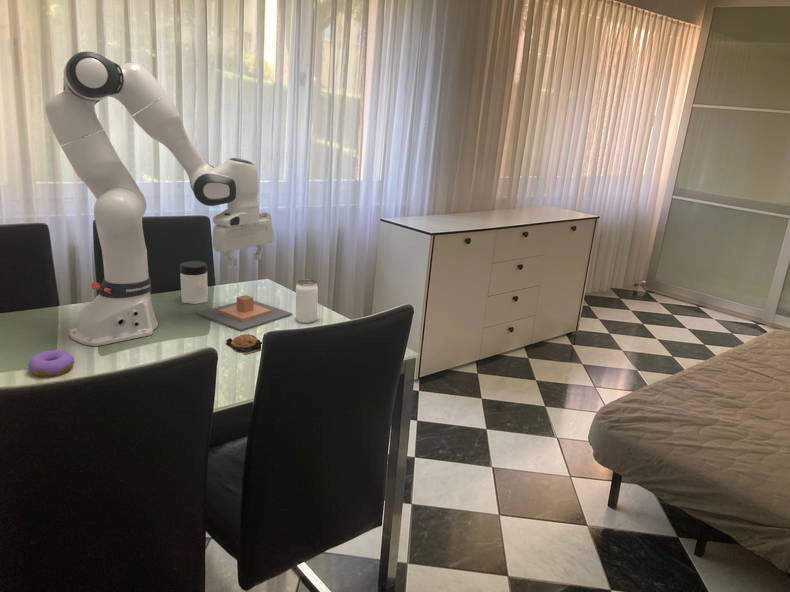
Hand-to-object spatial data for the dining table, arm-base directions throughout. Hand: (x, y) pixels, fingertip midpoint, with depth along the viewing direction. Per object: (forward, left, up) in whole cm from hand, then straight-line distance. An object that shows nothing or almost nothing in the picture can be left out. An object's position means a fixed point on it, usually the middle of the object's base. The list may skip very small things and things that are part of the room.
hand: (245, 262), depth 181 cm
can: (+10, -16, -17) cm, 25 cm away
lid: (0, 0, -16) cm, 16 cm away
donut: (-57, +2, -17) cm, 59 cm away
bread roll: (-16, -19, -17) cm, 30 cm away
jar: (-2, +22, -17) cm, 28 cm away
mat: (0, 0, -17) cm, 17 cm away
